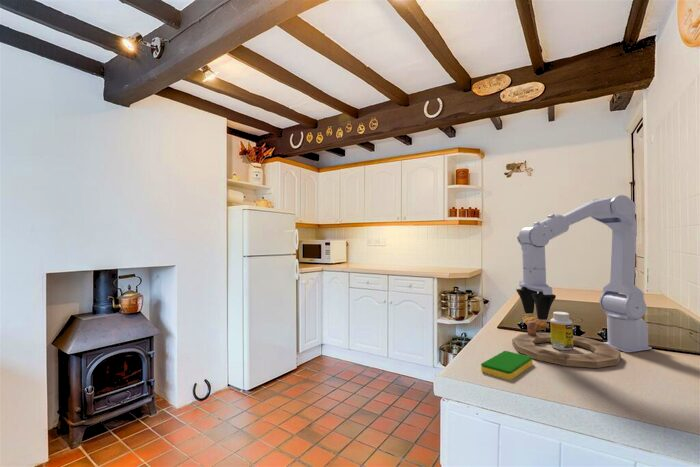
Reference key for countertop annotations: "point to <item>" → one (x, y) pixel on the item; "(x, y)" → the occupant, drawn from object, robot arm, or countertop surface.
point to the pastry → (539, 323)
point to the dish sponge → (507, 365)
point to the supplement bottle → (561, 331)
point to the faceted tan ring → (599, 358)
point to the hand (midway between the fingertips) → (535, 316)
